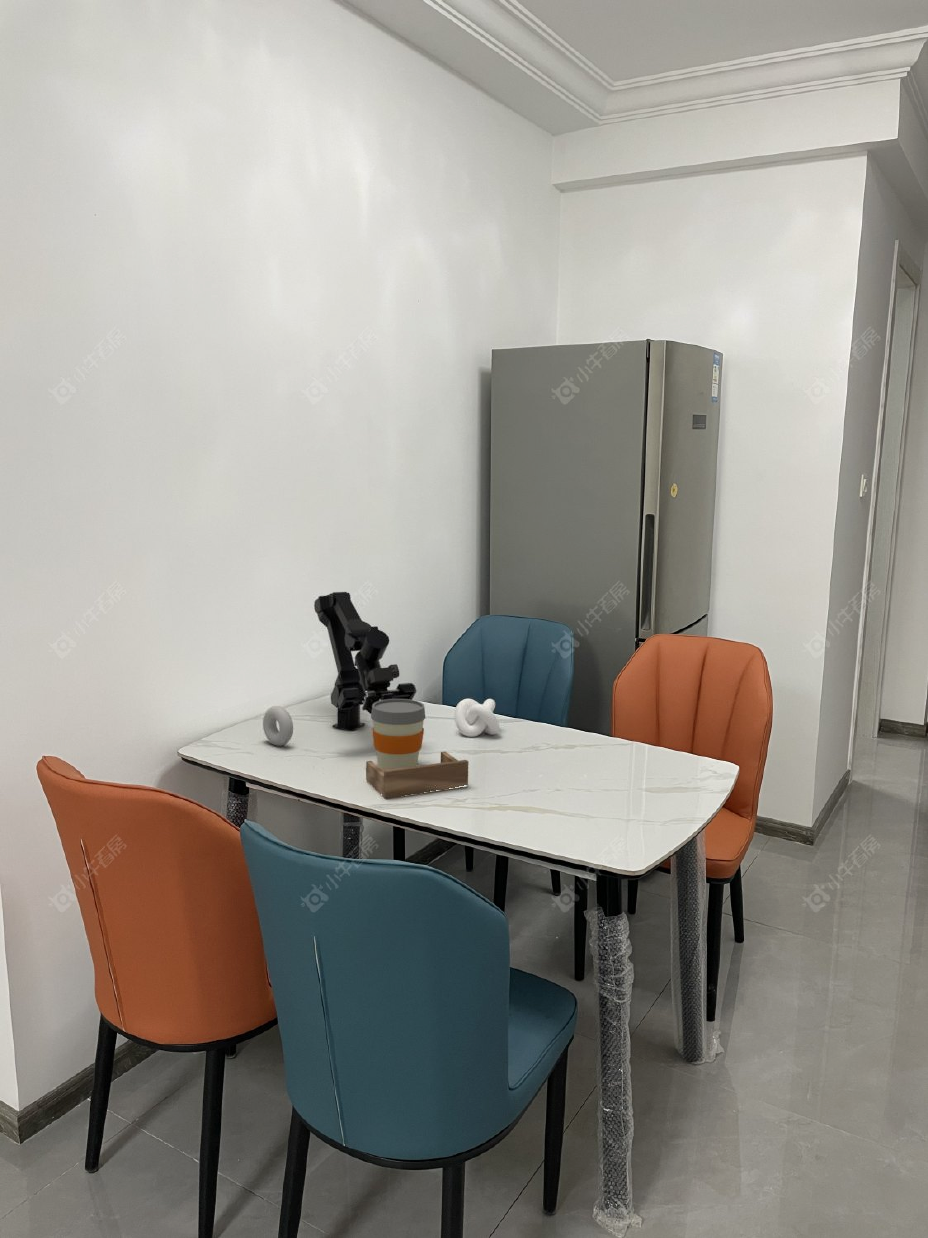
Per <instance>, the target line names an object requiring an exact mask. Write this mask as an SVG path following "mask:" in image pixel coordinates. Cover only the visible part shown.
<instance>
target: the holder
mask: <svg viewBox="0 0 928 1238" xmlns="http://www.w3.org/2000/svg"><path fill="white" fill-rule="evenodd" d="M365 764H366V765H365V770H366V771H365V773H366V774H365V781H366V780H367V781H366V782H367V783H368V784H369V785H370V786H371V785H372V786H373V787H374V788H375V791H377V792H378V794H380V795H381V794H382V795H381V796H382V797H383V798H384V799H385V800H389V799H396V798H402V797H401V796H403V797H406V796H405V795H410V796H412V795H411V794H417V795H421V794H420V793H424V792H430V791H436V790H445V789H449V788H455V787H459V786H464V785H468V786H469V760H467V759H461V760H458V759H457V758H455V757H454V756H452V755H451V754H450V753H449V752H447V751H440V762H438V763H437V762H436V763H431V764H430V763H429V764H421V765H417V766H413V767H406V768H398V769H390V770H384V771H382V770H381V769H380V768H379V767H378V764H376V763H375V762H373V760H367V761H365ZM372 786H371V787H372ZM373 787H372V788H373ZM374 788H373V789H374ZM445 791H446V790H445ZM424 794H425V793H424Z"/></svg>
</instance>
